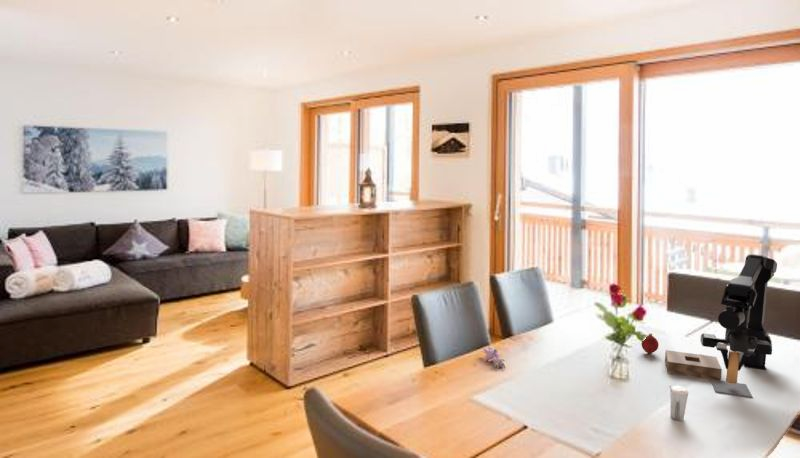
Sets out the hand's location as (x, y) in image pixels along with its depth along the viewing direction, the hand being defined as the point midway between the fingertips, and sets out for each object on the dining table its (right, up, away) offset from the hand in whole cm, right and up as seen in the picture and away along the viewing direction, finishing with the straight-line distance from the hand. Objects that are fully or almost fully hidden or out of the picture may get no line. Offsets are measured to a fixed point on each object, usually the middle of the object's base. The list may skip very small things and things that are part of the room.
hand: (732, 369), depth 170 cm
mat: (0, -6, +1) cm, 7 cm away
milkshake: (-28, -9, -19) cm, 35 cm away
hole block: (-4, -4, +16) cm, 17 cm away
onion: (-12, -3, +31) cm, 33 cm away
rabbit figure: (-73, -3, +22) cm, 76 cm away
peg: (0, -4, +1) cm, 4 cm away
